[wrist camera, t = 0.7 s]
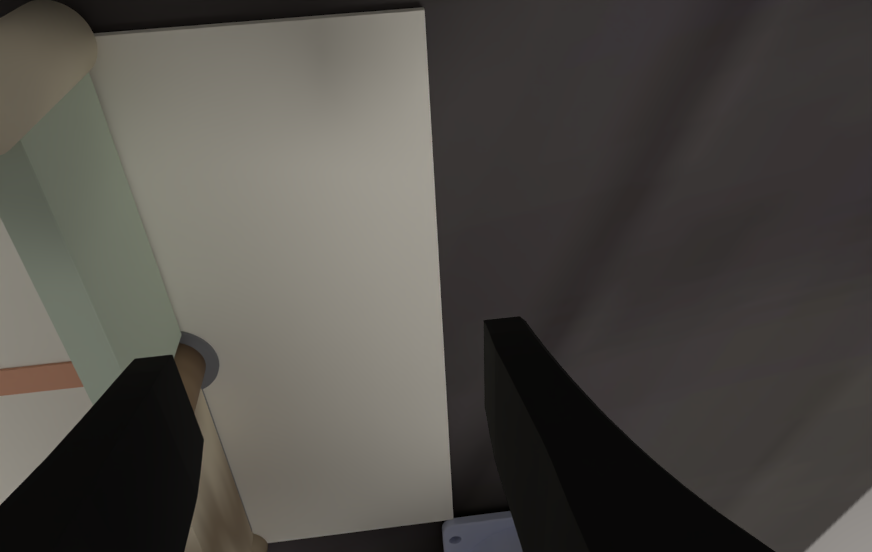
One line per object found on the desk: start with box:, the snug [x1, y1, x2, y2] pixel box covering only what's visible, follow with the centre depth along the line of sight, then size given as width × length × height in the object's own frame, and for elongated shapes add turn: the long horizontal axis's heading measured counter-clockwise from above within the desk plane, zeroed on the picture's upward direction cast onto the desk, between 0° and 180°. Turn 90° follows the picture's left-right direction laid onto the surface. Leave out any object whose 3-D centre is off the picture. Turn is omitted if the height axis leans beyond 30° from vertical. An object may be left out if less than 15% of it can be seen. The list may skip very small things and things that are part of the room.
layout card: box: [0, 7, 453, 543], centre depth 21 cm, size 20×18×1 cm
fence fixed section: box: [174, 343, 268, 552], centre depth 22 cm, size 12×2×5 cm, turn 3°
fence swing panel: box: [0, 0, 182, 405], centre depth 16 cm, size 10×2×4 cm, turn 3°
